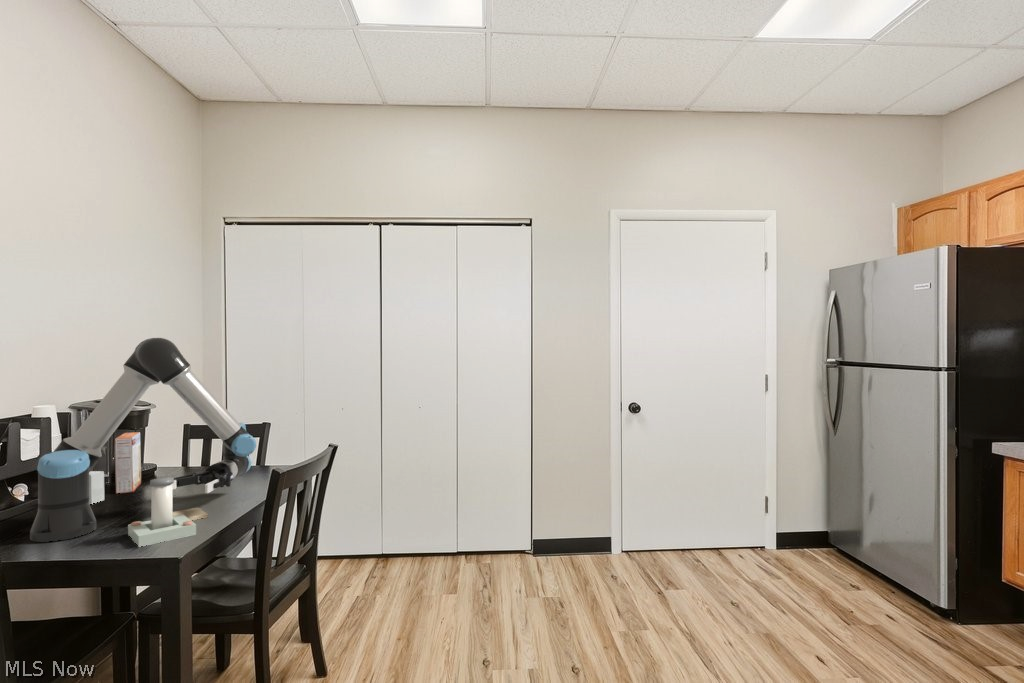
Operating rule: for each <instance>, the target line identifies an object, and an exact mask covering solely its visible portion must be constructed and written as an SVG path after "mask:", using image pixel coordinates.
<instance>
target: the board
mask: <svg viewBox="0 0 1024 683" xmlns="http://www.w3.org/2000/svg"><path fill="white" fill-rule="evenodd" d="M181 514H183V515H184V516H186V517H187V518H188V519H190V520H191V521H192V520H193V521H197V519H198V520H202V519H201V518H203V519H206V517H208V518H209V514H208V512H205V511H204V510H202V509H201V508H200V507H192V508H187V509H180V510H175V511H173V516H176V515H181Z"/></svg>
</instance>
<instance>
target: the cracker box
mask: <svg viewBox="0 0 1024 683" xmlns="http://www.w3.org/2000/svg"><path fill="white" fill-rule="evenodd" d="M141 454H142V453H141V432H140V431H136V432H124V433H122V434H121V435H119V436H117V437H116V438H115V439H114V455H115V456H114V458H115V460H114V461H115V462H114V463H115V464H114V465H115V470H114V471H115V494H118V493H120V494H127V493H134V492H135V491H136V489H137V488H139V486H140V485H141V484H142V468H141V467H142V462H141V461H142V460H141V458H142V457H141V456H142V455H141Z"/></svg>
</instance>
